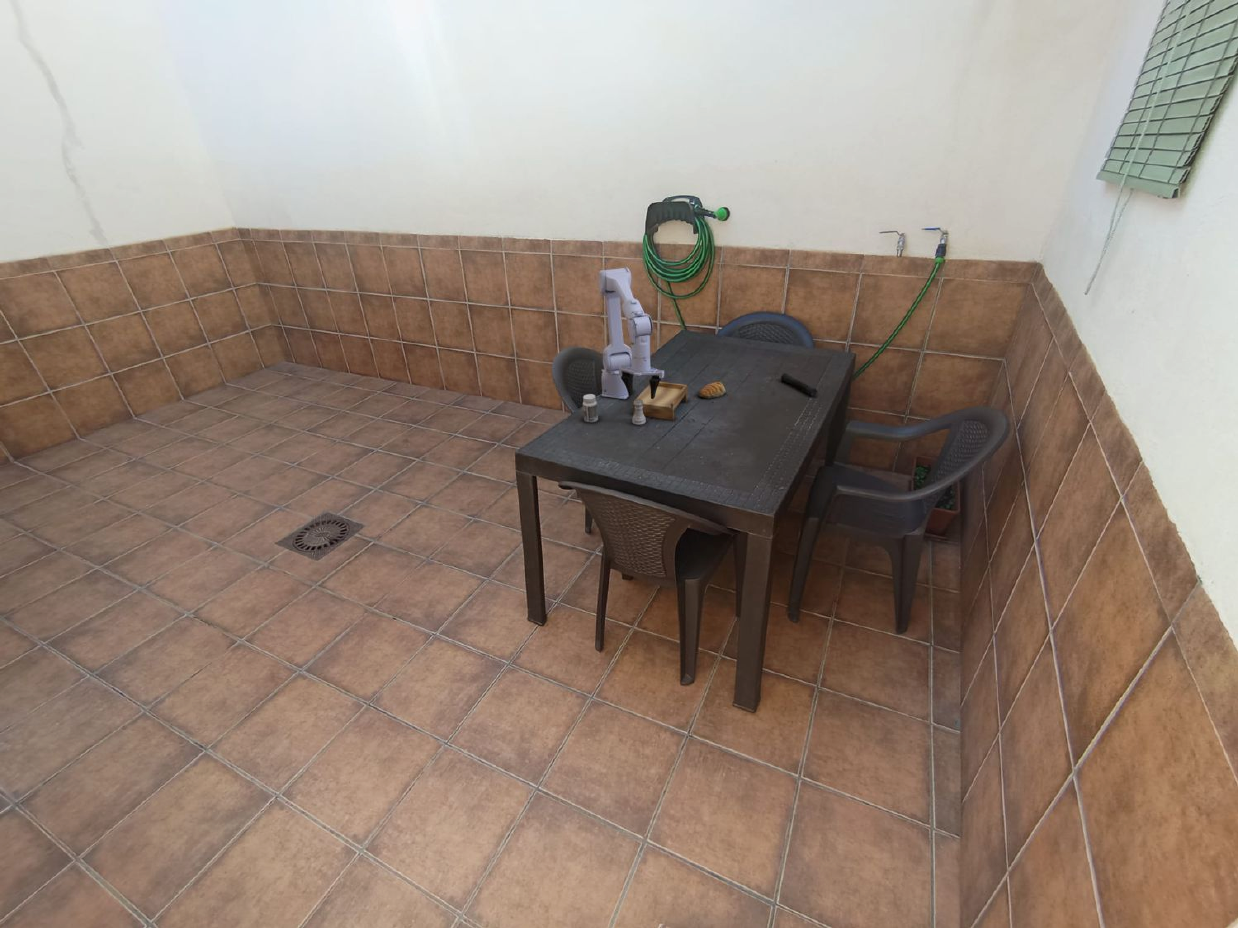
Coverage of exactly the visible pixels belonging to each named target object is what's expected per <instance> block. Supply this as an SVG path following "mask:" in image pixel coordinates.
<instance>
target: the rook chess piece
mask: <svg viewBox="0 0 1238 928" xmlns="http://www.w3.org/2000/svg"><path fill="white" fill-rule="evenodd" d="M634 401H635V402H634ZM634 401H633V402H634V405H635V407H634V408H635V414H633V416H632V424H633V425H635V426H642V425H644V424H646V422H647V420H646V416H644V415H643V410H642V408H643V406H642V405H643V403H644V402H643V401H642V399H641V400H640V399H639V400H637V398H635V399H634Z"/></svg>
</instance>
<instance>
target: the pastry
mask: <svg viewBox="0 0 1238 928" xmlns="http://www.w3.org/2000/svg"><path fill="white" fill-rule="evenodd" d="M725 393H726V388H725V387H724V384H723V383H722V382H720V381H714V382H711V383H708V384H706V385H705V386H704V387H703V388H702V389H701V390H700V391H699V396H700V397H701V398H705V399H712V398H713V399H714V398H719V397H720V396H723V395H724V394H725Z"/></svg>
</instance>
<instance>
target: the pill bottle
mask: <svg viewBox="0 0 1238 928" xmlns="http://www.w3.org/2000/svg"><path fill="white" fill-rule="evenodd" d="M582 398H583V399H582V400H583V402H582V410H583V420H584V422H586V423H595V422H597V421H598V420H599V412H598V411H599V410H598V402H597V400H596V399H597V398H596V395H595V394H593V393H587V394H584V395H583V397H582Z"/></svg>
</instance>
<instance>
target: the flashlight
mask: <svg viewBox="0 0 1238 928" xmlns="http://www.w3.org/2000/svg"><path fill="white" fill-rule="evenodd" d="M780 380H781V381H783V382H784V383H787V384H788V385H789V384H790V385H792V386H793V387H796V388H798V389H799V390H801V391H802V392H805V393H807V394H809V395H810V396H812V397H814V396H816V395H817V394H818V390H817V388H816V387H812V386H810V385H808V384H806V383H804V382H802V381H801V380H798V379H797V378H794V377H793V376H792V375H791V374H789V373H786V372H784V373H782V374H781V376H780Z"/></svg>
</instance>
